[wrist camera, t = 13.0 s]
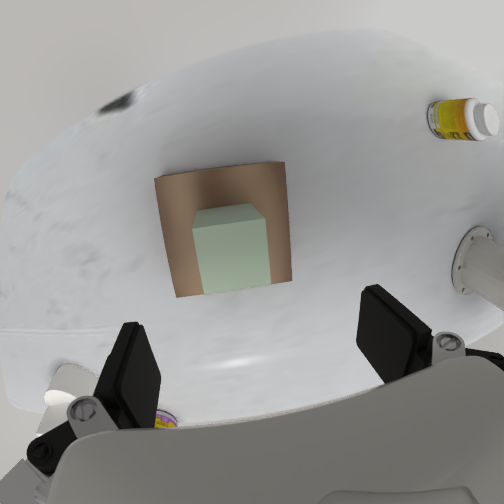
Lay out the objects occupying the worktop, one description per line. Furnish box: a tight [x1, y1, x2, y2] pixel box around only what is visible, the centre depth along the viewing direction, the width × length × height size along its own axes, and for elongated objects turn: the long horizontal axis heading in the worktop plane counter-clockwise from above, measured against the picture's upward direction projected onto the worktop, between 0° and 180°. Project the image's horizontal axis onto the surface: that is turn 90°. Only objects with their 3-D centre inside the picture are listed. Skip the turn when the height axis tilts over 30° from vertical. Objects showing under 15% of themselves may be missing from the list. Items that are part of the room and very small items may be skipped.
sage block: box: [192, 203, 271, 295], centre depth 23 cm, size 5×5×7 cm
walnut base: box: [154, 162, 292, 298], centre depth 28 cm, size 12×12×4 cm
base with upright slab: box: [36, 364, 99, 437], centre depth 29 cm, size 9×9×12 cm
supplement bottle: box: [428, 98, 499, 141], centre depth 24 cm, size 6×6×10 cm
